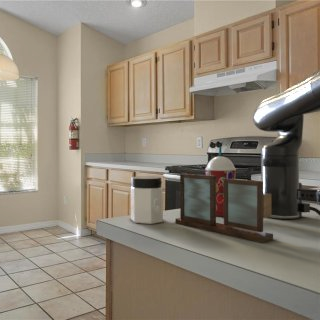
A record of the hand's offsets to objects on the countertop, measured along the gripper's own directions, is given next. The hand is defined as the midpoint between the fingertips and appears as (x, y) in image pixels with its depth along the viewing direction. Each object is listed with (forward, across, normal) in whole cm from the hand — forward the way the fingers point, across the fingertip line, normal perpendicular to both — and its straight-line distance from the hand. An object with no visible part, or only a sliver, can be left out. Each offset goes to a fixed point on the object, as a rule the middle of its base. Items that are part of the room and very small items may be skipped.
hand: (298, 193), depth 67 cm
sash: (+11, 0, +9) cm, 14 cm away
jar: (+34, +9, +10) cm, 37 cm away
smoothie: (+27, -14, +10) cm, 32 cm away
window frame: (+16, +3, +10) cm, 19 cm away
